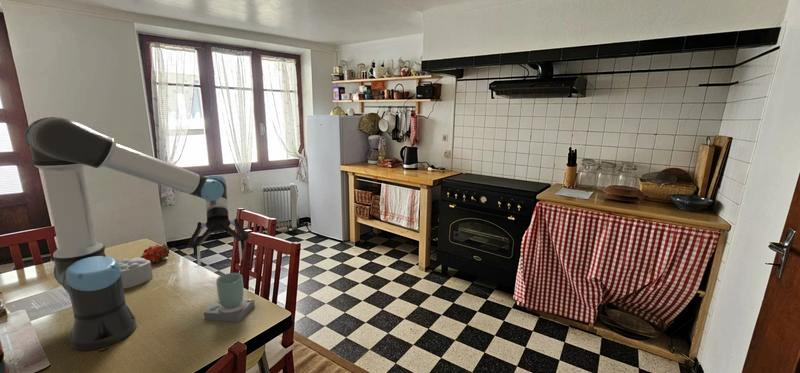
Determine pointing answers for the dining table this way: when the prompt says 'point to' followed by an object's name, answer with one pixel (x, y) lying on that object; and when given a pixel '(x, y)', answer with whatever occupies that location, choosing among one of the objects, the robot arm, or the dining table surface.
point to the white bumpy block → (135, 271)
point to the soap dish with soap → (229, 311)
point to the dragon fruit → (156, 253)
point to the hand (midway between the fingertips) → (220, 261)
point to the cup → (230, 289)
